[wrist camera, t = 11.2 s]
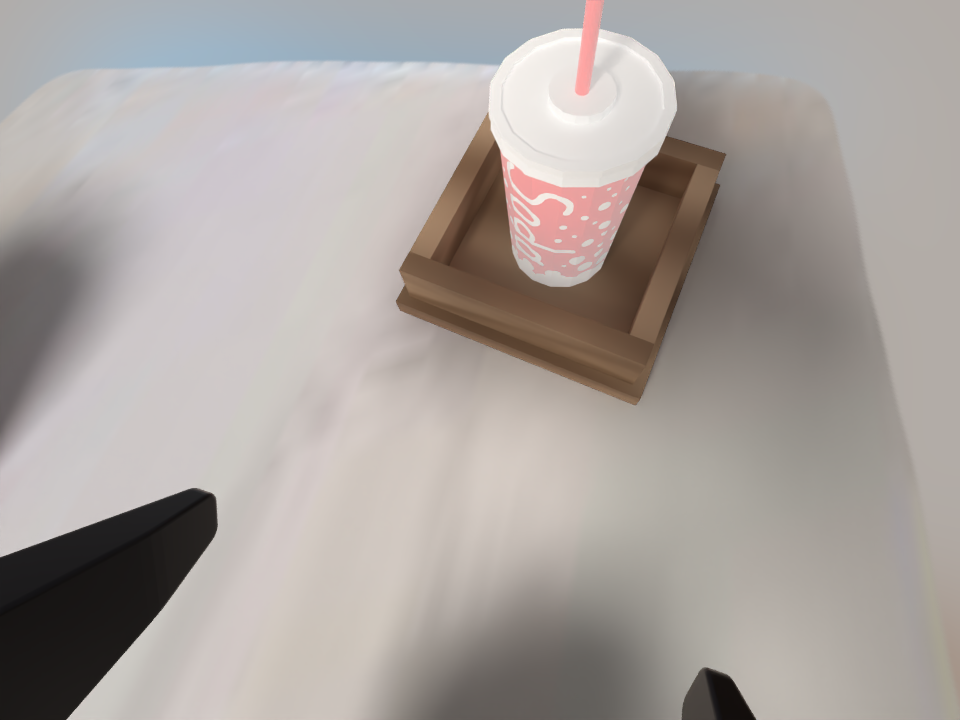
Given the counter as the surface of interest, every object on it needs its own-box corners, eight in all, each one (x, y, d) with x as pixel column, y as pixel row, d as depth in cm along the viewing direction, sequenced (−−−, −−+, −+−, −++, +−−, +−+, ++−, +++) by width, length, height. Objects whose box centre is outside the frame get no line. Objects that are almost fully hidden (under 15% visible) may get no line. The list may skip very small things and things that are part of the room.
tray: (635, 405, 24) (654, 381, 21) (400, 310, 26) (383, 275, 23) (713, 197, 27) (740, 148, 24) (499, 129, 30) (497, 77, 26)
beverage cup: (473, 229, 26) (431, -92, 13) (576, 173, 27) (633, -184, 14) (541, 325, 24) (572, 60, 11) (650, 261, 25) (798, -57, 12)
